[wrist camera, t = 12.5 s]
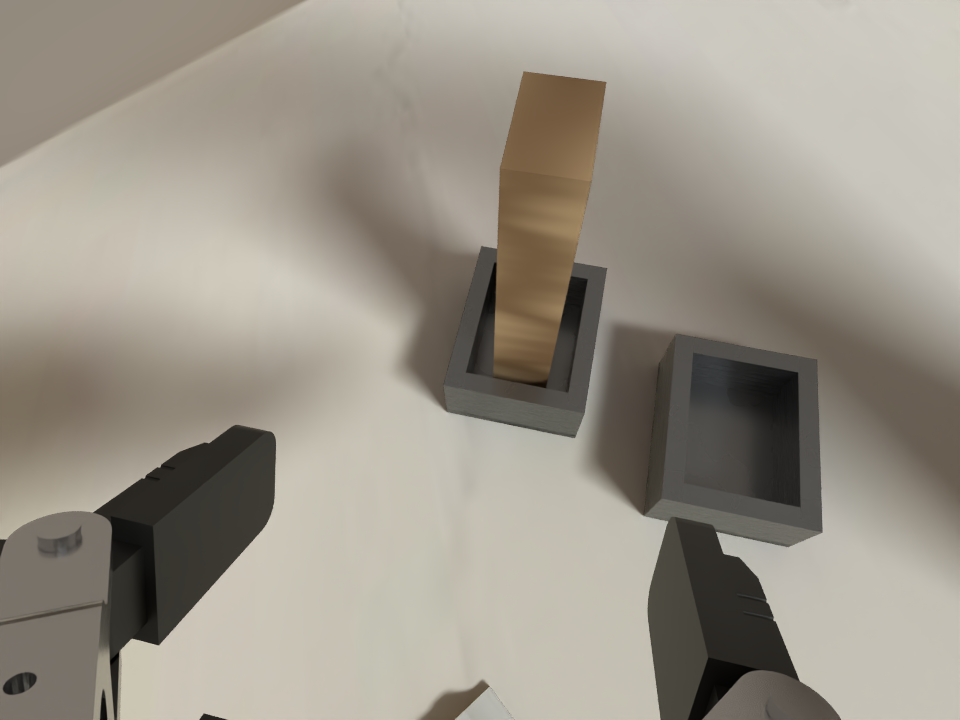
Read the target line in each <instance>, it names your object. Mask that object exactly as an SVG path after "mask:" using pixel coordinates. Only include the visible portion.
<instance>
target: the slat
mask: <svg viewBox="0 0 960 720" xmlns="http://www.w3.org/2000/svg"><path fill="white" fill-rule="evenodd" d="M605 87H606V82H602V81H594V80H586V79H578V78H570V77H563V76H555V75H547V74H539V73H531V72H523V76H522V80H521V84H520V88H519V93H518V97H517V101H516V105H515V109H514V113H513V117H512V121H511V125H510V130H509V134H508V138H507V142H506V146H505V150H504V154H503V158H502V162H501V167H500V185H499V215H498V246H497V276H496V306H495V336H494V366H493V378H496V379H501V380H506V381H511V382H516V383H521V384H526V385H531V386H537V387H542V388H546V386H547V382H548V377H549V373H550V368H551V363H552V359H553V354H554V350H555V345H556V341H557V336H558V331H559V327H560V322H561V318H562V313H563V309H564V304H565V300H566V295H567V290H568V286H569V281H570V277H571V272H572V268H573V263H574V258H575V254H576V249H577V245H578V240H579V236H580V231H581V226H582V222H583V217H584V213H585V208H586V204H587V199H588V195H589V190H590V185H591V181H592V174H593V167H594V161H595V154H596V147H597V141H598V134H599V127H600V121H601V114H602V107H603V101H604V94H605Z"/></svg>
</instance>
